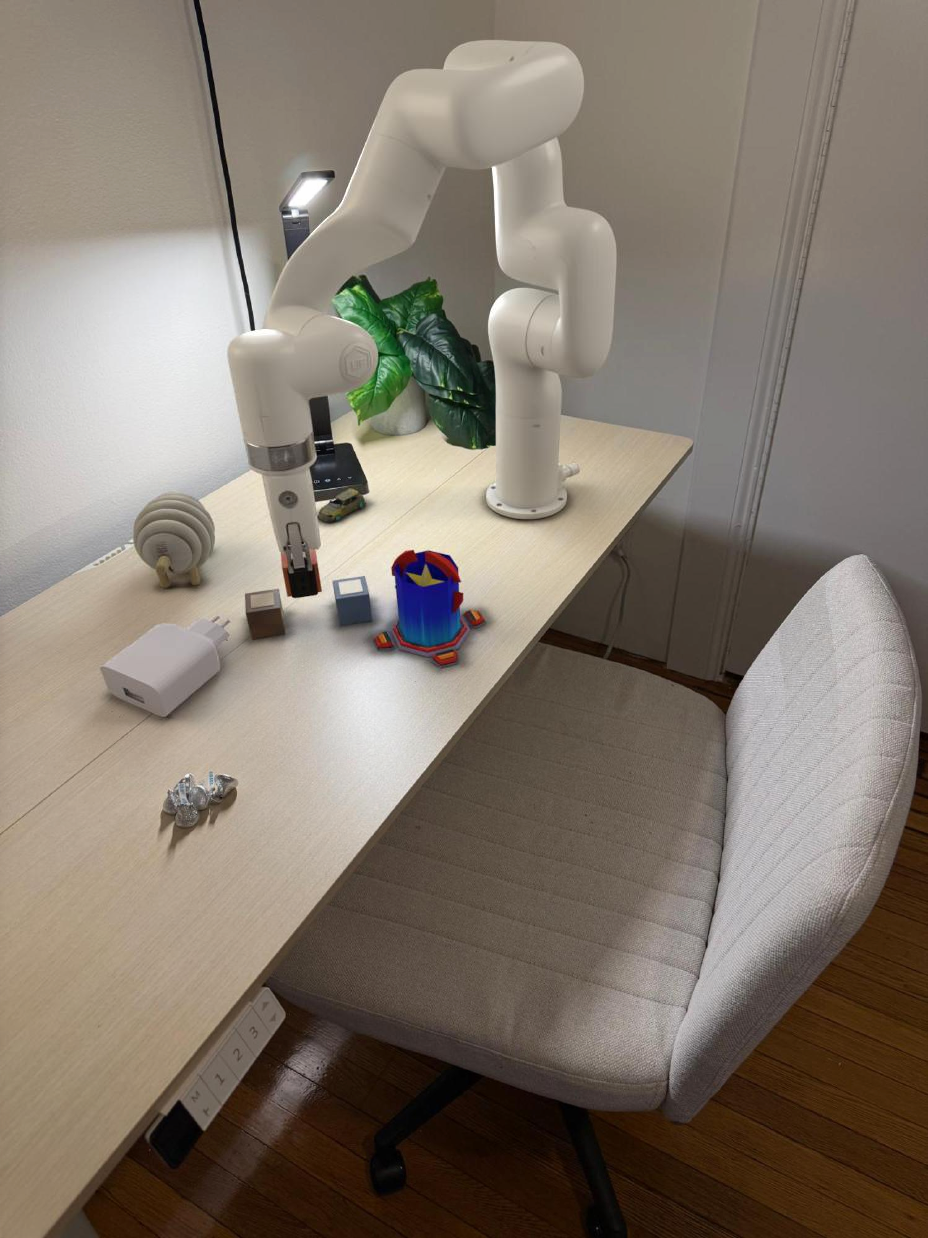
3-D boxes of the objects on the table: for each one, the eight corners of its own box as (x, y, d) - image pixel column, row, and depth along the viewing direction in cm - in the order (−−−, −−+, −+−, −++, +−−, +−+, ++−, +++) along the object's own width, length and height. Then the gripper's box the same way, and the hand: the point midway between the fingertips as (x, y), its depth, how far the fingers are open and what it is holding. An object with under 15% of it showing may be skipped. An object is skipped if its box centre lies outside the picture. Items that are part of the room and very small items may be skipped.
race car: (314, 517, 126) (311, 502, 124) (353, 497, 130) (351, 483, 129) (329, 525, 124) (327, 510, 122) (368, 504, 128) (367, 490, 127)
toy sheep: (225, 536, 122) (209, 469, 115) (220, 602, 109) (201, 530, 102) (152, 545, 121) (131, 477, 114) (137, 612, 107) (113, 540, 101)
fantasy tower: (365, 647, 100) (355, 566, 93) (409, 595, 109) (403, 516, 102) (453, 671, 96) (449, 589, 89) (491, 615, 105) (491, 535, 98)
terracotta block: (319, 573, 104) (314, 544, 101) (322, 592, 100) (317, 562, 98) (285, 578, 103) (280, 549, 100) (287, 597, 100) (282, 567, 97)
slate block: (368, 601, 108) (364, 575, 105) (372, 620, 105) (369, 593, 102) (336, 606, 107) (332, 579, 105) (339, 625, 104) (335, 598, 101)
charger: (256, 644, 101) (167, 720, 91) (200, 623, 105) (109, 694, 95) (249, 613, 99) (156, 689, 88) (192, 593, 102) (97, 663, 92)
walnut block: (284, 614, 106) (278, 587, 104) (285, 634, 103) (280, 607, 100) (251, 619, 106) (244, 592, 103) (251, 639, 102) (245, 612, 100)
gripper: (321, 478, 84) (341, 619, 96) (309, 414, 98) (327, 545, 109) (247, 487, 83) (276, 629, 94) (245, 421, 96) (270, 552, 107)
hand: (303, 582), depth 101 cm, fingers closed on terracotta block, 4 cm apart
